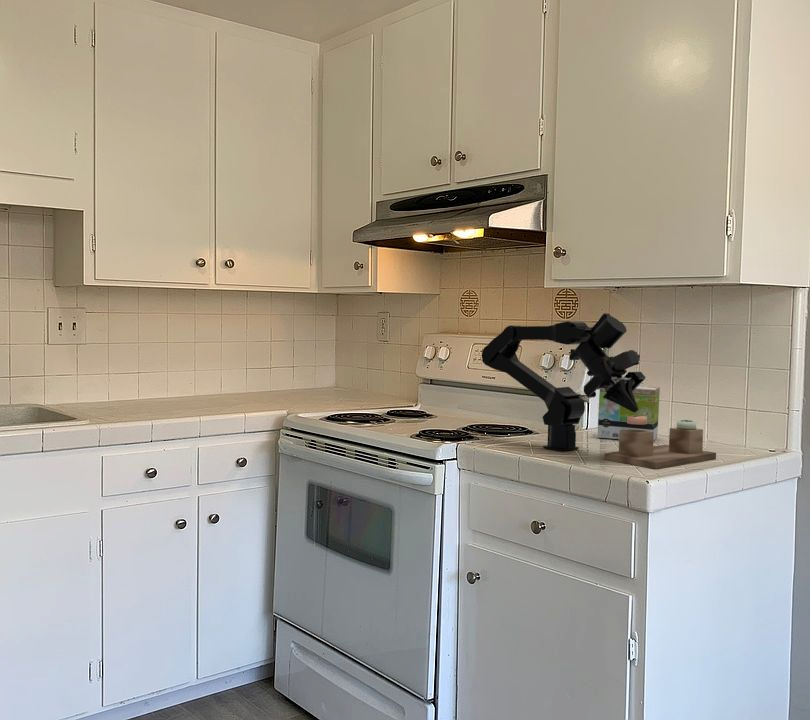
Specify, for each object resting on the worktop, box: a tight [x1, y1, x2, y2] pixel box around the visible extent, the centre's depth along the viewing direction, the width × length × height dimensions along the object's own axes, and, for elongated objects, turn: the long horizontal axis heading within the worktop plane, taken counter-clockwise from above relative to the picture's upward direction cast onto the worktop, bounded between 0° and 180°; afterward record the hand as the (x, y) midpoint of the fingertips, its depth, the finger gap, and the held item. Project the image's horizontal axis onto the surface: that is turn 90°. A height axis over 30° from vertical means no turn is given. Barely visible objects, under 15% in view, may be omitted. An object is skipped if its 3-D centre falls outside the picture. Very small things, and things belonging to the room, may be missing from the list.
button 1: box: [627, 415, 647, 425], centre depth 185 cm, size 4×4×2 cm
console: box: [604, 426, 717, 470], centre depth 188 cm, size 14×24×7 cm, turn 128°
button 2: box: [676, 419, 697, 429], centre depth 191 cm, size 4×4×2 cm
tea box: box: [597, 385, 661, 442], centre depth 221 cm, size 15×10×15 cm, turn 65°
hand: (636, 411), depth 185 cm, fingers closed
